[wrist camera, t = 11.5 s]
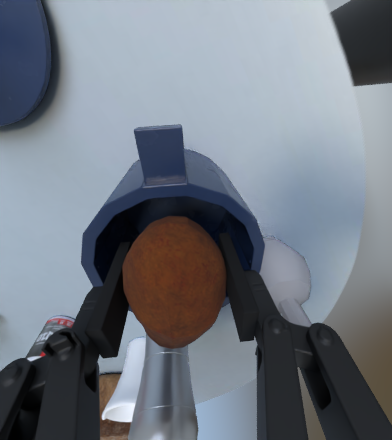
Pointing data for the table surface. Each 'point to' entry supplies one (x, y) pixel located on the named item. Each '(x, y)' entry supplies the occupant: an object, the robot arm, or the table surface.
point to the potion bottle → (286, 280)
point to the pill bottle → (48, 334)
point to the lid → (22, 58)
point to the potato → (175, 281)
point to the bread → (109, 430)
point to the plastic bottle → (164, 396)
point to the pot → (170, 203)
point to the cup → (127, 384)
